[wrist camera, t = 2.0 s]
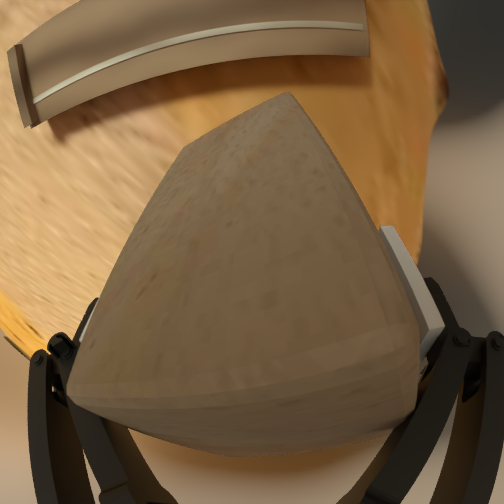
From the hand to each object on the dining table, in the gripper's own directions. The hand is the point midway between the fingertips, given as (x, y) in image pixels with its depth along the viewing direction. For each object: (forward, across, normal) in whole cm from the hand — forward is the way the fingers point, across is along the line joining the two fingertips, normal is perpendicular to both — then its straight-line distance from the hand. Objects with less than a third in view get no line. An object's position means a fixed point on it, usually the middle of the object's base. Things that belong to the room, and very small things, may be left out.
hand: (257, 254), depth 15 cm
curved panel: (+10, -5, +14) cm, 19 cm away
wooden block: (+11, 0, +1) cm, 11 cm away
